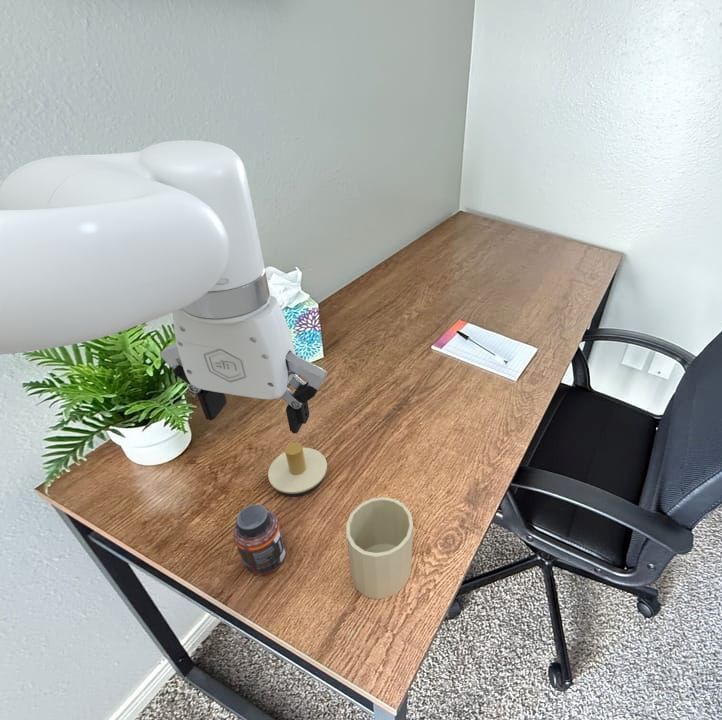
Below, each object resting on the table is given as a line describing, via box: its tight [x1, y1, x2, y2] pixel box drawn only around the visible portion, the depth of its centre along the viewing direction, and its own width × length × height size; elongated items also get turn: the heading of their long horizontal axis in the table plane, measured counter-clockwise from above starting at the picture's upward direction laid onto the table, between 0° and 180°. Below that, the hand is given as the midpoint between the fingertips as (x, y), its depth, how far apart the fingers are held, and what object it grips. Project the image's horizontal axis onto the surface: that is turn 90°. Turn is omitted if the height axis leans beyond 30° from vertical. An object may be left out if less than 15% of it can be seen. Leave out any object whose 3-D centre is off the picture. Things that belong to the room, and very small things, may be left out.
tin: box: [345, 496, 414, 600], centre depth 68 cm, size 9×9×12 cm
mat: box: [273, 475, 326, 498], centre depth 83 cm, size 9×9×1 cm
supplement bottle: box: [232, 503, 287, 577], centre depth 68 cm, size 6×6×11 cm
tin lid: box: [267, 441, 328, 494], centre depth 81 cm, size 10×10×7 cm
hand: (258, 417), depth 53 cm, fingers open, 9 cm apart
